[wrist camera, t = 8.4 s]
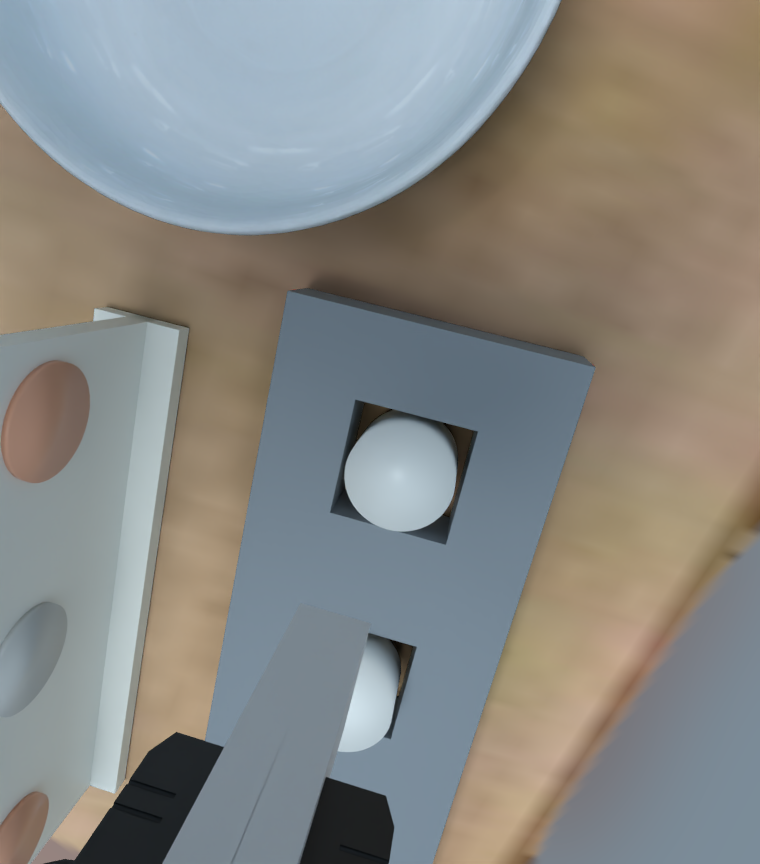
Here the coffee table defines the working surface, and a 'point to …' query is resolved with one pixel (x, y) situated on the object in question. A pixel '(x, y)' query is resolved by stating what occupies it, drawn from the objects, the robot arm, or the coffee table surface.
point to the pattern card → (77, 554)
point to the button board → (393, 550)
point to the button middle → (372, 696)
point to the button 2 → (402, 471)
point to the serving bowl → (259, 98)
